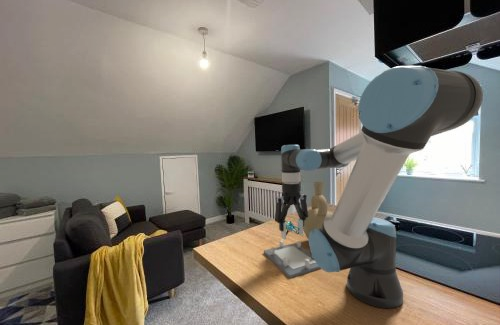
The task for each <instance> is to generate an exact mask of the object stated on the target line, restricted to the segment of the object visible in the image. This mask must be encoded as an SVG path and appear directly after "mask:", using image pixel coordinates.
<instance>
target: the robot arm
mask: <svg viewBox="0 0 500 325" xmlns="http://www.w3.org/2000/svg"><path fill="white" fill-rule="evenodd" d="M483 101H484V92H483V88H482V86H481V84H480V82H479V81H478V80H477V79H476V78H475V77H473V76H472V75H470V74H469V73H466V72H462V71H457V70H447V69H439V68H432V67H426V66H422V65H400V66H394V67H392V68H388V69H386V70H384V71H383V72H382V73H380V74H378V75H376V76H375V77H374V78H373V79H372V80H371V81H370V82H369V83H368V84H367V85H366V87H365V89H364V90H363V91H362V93H361V96H360V98H359V101H358V106H357V111H358V112H359V113H360V114H359V115H358V118H359V121H360V123H361V125H362V127H361V130H360V132H358V133H357V134H355V135H353V136H351V137H350V138H348V139H346V140H344V141H341V142H340V143H338V144H336V145H335V146H332V147H330V148H305V149H301V148H300V145H299V144H284V145H282V146H281V148H280V149H281V150H280V156H281V157H280V158H281V159H280V160H281V164H280V165H281V182H282V183H281V191H282V195H281V196H280V197H275V202H276V205H275V214H274V221H275V223H278V228H279V231H280V237H281V239H283V241H284V240H287V236H286V232H287V229H286V224H287V222H285V223H284V221H285V220H286V217H287V214H288V211H289V209H290V208H291V206H292V205H293V206H294V208H295V211H296V213H297V215H298V218H297V227H298V228H300V229H299V230H298V229H297V230H298V231H297V233H298V232H299V234H298V235H299V236H302V237H303V236H304V230H303V227H304V220H306V218H308V211H309V210H308V207H307V206H308V205H307V204H308V203H307V197H308V196H307V195H306V194H303V193H302V194H301V188H302V187H301V186H302V185H301V183H300V182H301V180H302V179H301V171H305V172H308V171H309V172H311V171H312V172H313V171H316V170H324V169H341V168H345V167H346V168H347V167H348V166H349V165H350V163H351V162H354V161H355V163H354V165H353V167H352V169H351V172H350V175H349V177H348V179H347V181H346V184H345V187H344V188H343V191H342V193H341V195H340V198H339V201H338V202H337V205H336V207H335V209H334V212H333V213H332V214H331V215H329V216H327V217H326V218H325V220H324V222H323V225H322V227H321V228H320V229H314V230H312V231H311V232H310V234H309V240H308V245H309V250H310V253H311V254H312V256H313V258H314V260H315V261H316V263H317V264H318V266H319V267H320V268H321V270H322V271H324V272H325V273H329V274H331V273H339V272H341V271H344V270H349V271H348V274H347V277H346V286H347V289H348V291H349V292H350V294H352V296H353V297H355V298H356V299H357V300H359V301H361V302H363V303H365V304H367V305H370V306H373V307H376V308H382V309H394V308H398V307H400V306H402V304H403V302H404V290H403V288H402V286H401V282H400V280H399V277H398V274H397V250H396V249H397V234H396V230H397V229H396V226H395V225H394V224H393V223H392V222H390V221H388V220H387V219H383V218H380V217H375V216H376V214H377V212H378V210H379V209H380V207H381V205H382V203H383V202H384V200H385V199H386V196H387V195H388V193H389V191H390V190H391V188H392V186H393V184H394V183H395V181H396V179H397V177H398V175H399V174H400V172H401V170H402V169H403V167H404V165H405V164H406V161H407V159H408V158H409V156H410V155H411V154H413V153H415V152H420V151H423V149H425V147H426V145H427V143H428V142H429V141H430V138H431V137H434V136H436V135H439V134H443V133H445V132H449V131H452V130H455V129H457V128H459V127H462V126H463V125H464V126H465V124H466V123H468V122H470V120H472V119H473V118H474V117H475V116H476V114H477V113H478V112H479V110H480V108H481V107H482V103H483Z"/></svg>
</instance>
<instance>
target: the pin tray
mask: <svg viewBox="0 0 500 325" xmlns="http://www.w3.org/2000/svg"><path fill="white" fill-rule="evenodd" d="M263 254H264V255H265V256H266V257H267V258H269V259H270V261H271V262H272V263H273V264H274V265H275V266H276V267H278V269H280V270H281V272H283V273H284V274H285V275H286V276H287V277H288V278H289V279H293V278H296V277H299V276H301V275H305V274H307V273H308V274H309V273H311V272H314V271H318V270H320V269H321V268H320V267H319V266H318V264H317V263H316V261H315V260H314V258H313V256H312V253H311V251H308V250H307V249H306V248H304V247H303V246H302V241H301V240H298V241H297V242H295V243H290V244H286V245H284V240H279V246H278V247H273V246H272V247H270V248H269V249H264V250H263ZM321 270H322V269H321Z"/></svg>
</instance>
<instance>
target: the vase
mask: <svg viewBox="0 0 500 325" xmlns="http://www.w3.org/2000/svg"><path fill="white" fill-rule="evenodd" d="M312 183H313V187H314V194H313V195H312V196H311V199H310V203H311V204H310V206H311V209H309V210H308V218H306V220H304V227H303V234H304V235H305V237H306V238H307V240H308V241H309V234H310V232H311V231H312V230H314V229H320V228H321V227H322V225H323V222H324V220H325V218H326V217H327V216H329V215H331V214H333V212H331V211H329V210H328V207H329V206H328V202H327V199H326V197H325V196H324V195H323V187H324V182H322V181H314V182H312Z"/></svg>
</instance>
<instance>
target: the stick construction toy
mask: <svg viewBox="0 0 500 325" xmlns="http://www.w3.org/2000/svg"><path fill="white" fill-rule="evenodd" d="M284 223H286V237H287V236H288V234H289V233H292V232H294V233H295V234H297V235H300V234H299V232H298V230H299V229H300V228H298V226H295V224H294V223H292V221H287V220H286V219H285V221H284Z"/></svg>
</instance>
